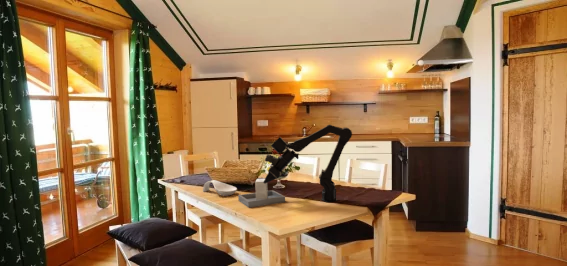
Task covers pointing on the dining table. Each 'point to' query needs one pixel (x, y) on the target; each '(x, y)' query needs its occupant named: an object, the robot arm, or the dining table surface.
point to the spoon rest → (220, 188)
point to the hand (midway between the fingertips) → (264, 181)
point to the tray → (251, 200)
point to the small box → (261, 189)
